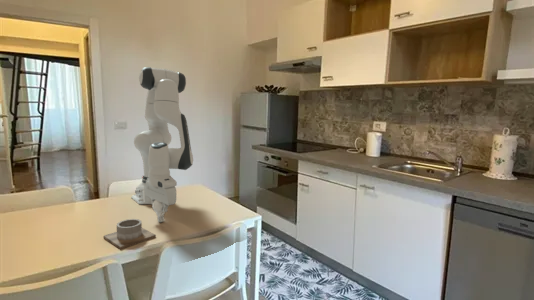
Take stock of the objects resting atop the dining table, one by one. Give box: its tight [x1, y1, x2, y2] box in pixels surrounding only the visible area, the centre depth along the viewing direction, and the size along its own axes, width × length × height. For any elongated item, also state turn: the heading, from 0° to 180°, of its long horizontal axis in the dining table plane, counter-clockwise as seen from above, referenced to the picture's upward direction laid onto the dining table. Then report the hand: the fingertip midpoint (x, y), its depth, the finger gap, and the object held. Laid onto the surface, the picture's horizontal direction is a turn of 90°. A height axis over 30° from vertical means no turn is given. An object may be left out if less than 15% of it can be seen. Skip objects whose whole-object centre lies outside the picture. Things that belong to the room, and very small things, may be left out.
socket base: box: [103, 218, 157, 250], centre depth 119 cm, size 14×14×6 cm
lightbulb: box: [151, 200, 165, 224], centre depth 134 cm, size 6×6×11 cm
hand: (160, 209), depth 134 cm, fingers open, 6 cm apart
